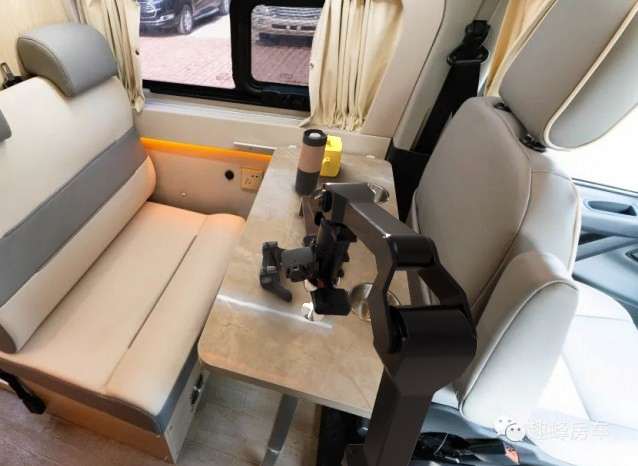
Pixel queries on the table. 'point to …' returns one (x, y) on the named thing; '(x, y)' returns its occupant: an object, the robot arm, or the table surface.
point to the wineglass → (309, 286)
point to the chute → (308, 218)
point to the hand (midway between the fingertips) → (316, 298)
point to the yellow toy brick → (331, 157)
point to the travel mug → (310, 160)
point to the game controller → (273, 271)
